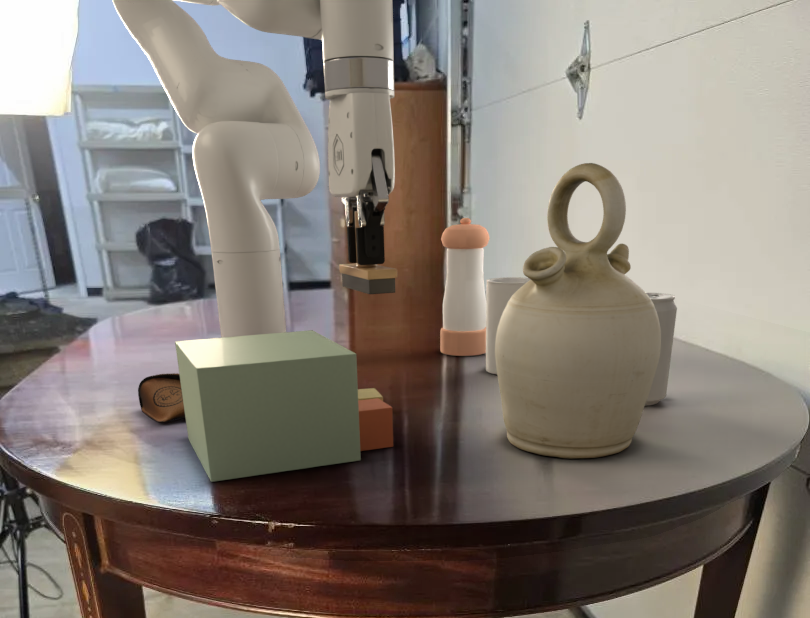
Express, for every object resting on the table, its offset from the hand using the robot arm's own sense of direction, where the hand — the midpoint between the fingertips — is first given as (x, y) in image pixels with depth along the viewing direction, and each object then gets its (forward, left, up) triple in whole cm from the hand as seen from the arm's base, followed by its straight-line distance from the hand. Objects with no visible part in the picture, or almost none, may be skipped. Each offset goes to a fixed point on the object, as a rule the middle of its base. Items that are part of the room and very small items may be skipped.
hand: (366, 261), depth 91 cm
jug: (+28, +11, -16) cm, 34 cm away
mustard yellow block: (+15, -9, -13) cm, 22 cm away
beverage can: (+18, +27, -16) cm, 36 cm away
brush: (0, 0, -3) cm, 3 cm away
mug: (-3, +23, -16) cm, 28 cm away
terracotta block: (+20, -10, -13) cm, 26 cm away
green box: (+18, -17, -15) cm, 29 cm away
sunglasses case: (-1, -18, -16) cm, 24 cm away
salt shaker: (-18, +22, -16) cm, 32 cm away
